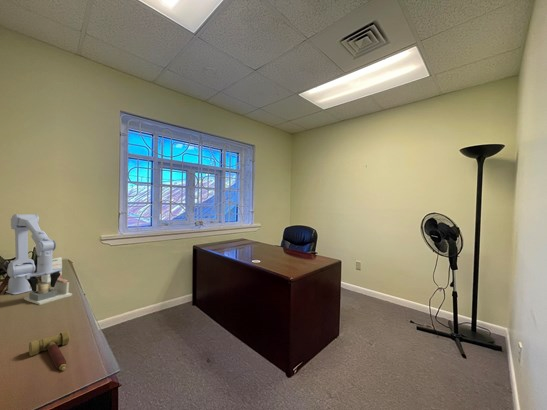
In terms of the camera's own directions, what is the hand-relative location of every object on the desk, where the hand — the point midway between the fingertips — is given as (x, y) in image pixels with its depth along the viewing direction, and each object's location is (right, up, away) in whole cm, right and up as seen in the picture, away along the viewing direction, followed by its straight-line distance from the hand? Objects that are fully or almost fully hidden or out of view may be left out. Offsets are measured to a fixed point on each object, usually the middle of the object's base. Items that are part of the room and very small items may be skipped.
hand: (43, 288), depth 124 cm
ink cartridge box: (-23, -5, +28) cm, 37 cm away
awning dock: (+1, -6, +2) cm, 6 cm away
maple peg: (0, -4, 0) cm, 4 cm away
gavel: (+48, -8, -45) cm, 66 cm away
